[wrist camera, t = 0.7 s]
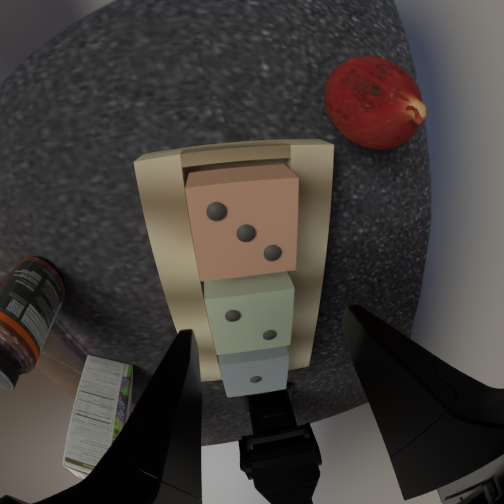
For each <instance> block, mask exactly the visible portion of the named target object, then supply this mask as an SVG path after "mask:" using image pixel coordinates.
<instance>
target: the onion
mask: <svg viewBox="0 0 504 504" xmlns="http://www.w3.org/2000/svg"><path fill="white" fill-rule="evenodd" d="M324 104H325V107H326V109H327V111H328V114H329V116H330V119H331V121H332V122H333V123H334V125H335V126H336V127H337V128H338V129H339V131H340V132H341V133H342V134H343V135H344V136H345V137H346V138H347V139H349V140H351V141H353V142H355V143H356V144H358V145H360V146H362V147H366V148H372V149H378V150H383V151H385V150H390V149H392V148H395V147H397V146H400V145H402V144H404V143H406V142H407V141H408V140H409V139H410V138H411V137H412V136H413V135H414V134H415V133H416V131H417V129H418V127H419V125H420V124H421V123H423V122H424V121H425V119H426V118H427V116H428V115H427V112H426V105H424V104H423V103H422V99H421V93H420V91H419V89H418V87H417V86H416V84H415V82H414V80H413V79H412V77H411V76H409V75H408V74H407V73H406V72H405V71H404V70H403V69H402V68H401V67H399V66H398V65H397V64H394V63H392V62H389V61H387V60H384V59H382V58H379V57H377V56H365V57H353V58H351V59H350V60H348V61H346V62H344V63H343V64H341V65H339V66H338V67H336V68H334V69H333V71H332V73H331V74H330V76H329V78H328V80H327V82H326V84H325V100H324Z"/></svg>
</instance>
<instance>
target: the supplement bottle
mask: <svg viewBox="0 0 504 504" xmlns="http://www.w3.org/2000/svg"><path fill="white" fill-rule="evenodd" d="M64 298H65V287H64V284H63V281H62V279H61V277H60V275H59V274H58V272H57V271H56V270H55V269H54V268H53V267H52V266H51V265H50V264H49V263H48V262H46V261H44V260H42V259H40V258H38V257H26V258H24V259H22V260H21V261H20V262H19V263H18V264H17V265H16V267H15V268H14V269H13V270H12V272H11V273H10V274H9V276H8V277H7V279H6V280H5V281H4V282H3V284H2V285H1V287H0V388H2V389H5V390H8V391H12V390H14V388H15V385H16V383H17V380H18V378H19V375H21V374H25V373H29V372H31V371H32V370H33V368H34V367H35V365H36V362H37V360H38V357H39V355H40V353H41V350H42V348H43V345H44V343H45V341H46V338H47V336H48V333H49V331H50V329H51V327H52V324H53V322H54V320H55V318H56V316H57V314H58V312H59V310H60V308H61V305H62V303H63V301H64Z"/></svg>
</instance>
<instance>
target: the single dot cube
mask: <svg viewBox="0 0 504 504" xmlns="http://www.w3.org/2000/svg"><path fill="white" fill-rule="evenodd" d="M218 359H219V367H220V371H221V375H222V379H223V383H224V387H225V391H226V395H227V397H235V396H244V395H251V394H258V393H265V392H271V391H277V390H283V389H286V384H287V374H288V364H289V353H288V349H287V346H281V347H274V348H268V349H261V350H254V351H247V352H239V353H231V354H222V355H218Z"/></svg>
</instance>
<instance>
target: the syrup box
mask: <svg viewBox="0 0 504 504" xmlns="http://www.w3.org/2000/svg"><path fill="white" fill-rule="evenodd" d="M132 387H133V366H132V365H130V364H126V363H121V362H117V361H113V360H108V359H104V358H100V357H96V356H92V355H88V356H87V359H86V362H85V366H84V369H83V372H82V376H81V379H80V383H79V386H78V390H77V394H76V398H75V402H74V406H73V410H72V415H71V419H70V424H69V428H68V433H67V439H66V444H65V450H64V457H63V466H64V467H66V468H67V469H69V470H70V471H71V472H72V473H74V475H76V476H78V477H80V478H83V479H85V478H86V477H87V476H88V475H89V474H90V472H91V471H92V470H93V469H94V467H95V466H96V465H97V463H98V462H99V461H100V459H101V458H102V456H103V455H104V454H105V452H106V451H107V450H108V448H109V447H110V446H111V444H112V443H113V441H114V440H115V439H116V437H117V436H118V434H119V433H120V431H121V430H122V428H123V426H124V425H125V423H126V421H127V420H128V418H129V411H130V403H131V395H132Z"/></svg>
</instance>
